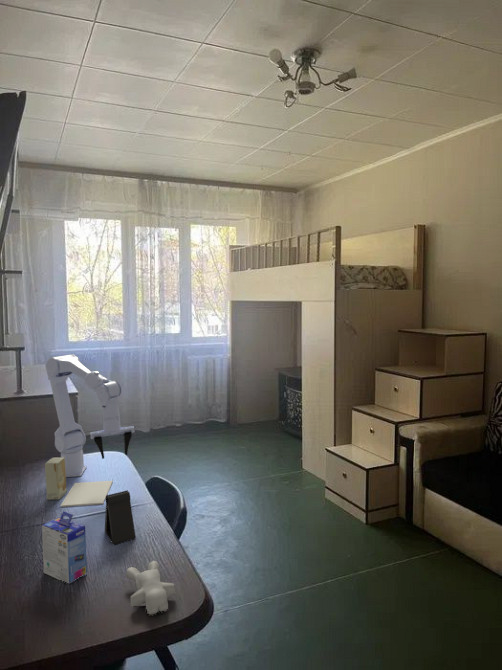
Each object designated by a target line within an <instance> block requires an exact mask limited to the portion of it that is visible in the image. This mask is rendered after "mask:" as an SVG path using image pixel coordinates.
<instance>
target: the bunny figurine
mask: <svg viewBox="0 0 502 670" xmlns="http://www.w3.org/2000/svg"><path fill="white" fill-rule="evenodd" d="M124 574H125V577H126V578H127V579H130V580H131V581H133V582H135V588H136V592H134V593H133V594H131V595H130V607H131V606H132V607H131V608H134V607H133V606H137V605H141V604H144V603H146V607H145V610H146V609H147V611H148V612H149V614H153V613H156V612H158V613H159V611H163V610H165V609H168V610H169V602H168V598H167V596H170V595H172V594H174V595H175V594H176V585H175V583H172V582H163V581H161V575H160V565H159V563H158V561H156V560H152V561H150V562H149V563H148V565H147V570H144V571H142V572H141V571H140V570H138V569H137V568H136V567H132V566H131V567H127V570H126V573H124ZM158 610H159V611H158Z"/></svg>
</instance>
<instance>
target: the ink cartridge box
mask: <svg viewBox="0 0 502 670" xmlns="http://www.w3.org/2000/svg"><path fill="white" fill-rule="evenodd" d="M73 516H74V514H72V513H68V512H66V511H63V512H62V514H61V515H60V516H59V517H57V518H54V519H52V520H49V521H48V522H46V523H44V524H42V525H41V532H42V533H41V534H42V535H41V536H42V558H43V559H42V560H43V574H46V575H48V576H50V577H52V578H54V579H57V580H58V581H60V580H62V581H61V582H63V581H65V582H67V583H70V582H72V581H73V580H75V579H77V578H78V577H80V576H82V575H84V574H85V573H87V574H88V564H87V563H88V561H87V542H86V541H87V540H86V537H87V536H86V525H85V524H81V523H78V522H75V521H72V519H73ZM64 517H68V519H66V518H64ZM65 582H64V583H65ZM67 583H66V584H67ZM72 583H73V582H72Z"/></svg>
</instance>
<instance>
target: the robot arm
mask: <svg viewBox="0 0 502 670" xmlns="http://www.w3.org/2000/svg"><path fill="white" fill-rule="evenodd" d="M45 370H46V374H47V378H48V380H49V382H50V383H49V384H50V388H51V393H52V396H53V401H54V406H55V410H56V414H57V419H58V422H59V423H58V424H59V427H58V428H57V429H56V431H55V432H54V448H56V450H57V451H58V452H59V453H60V457H65V473H66V478H70V477H71V478H72V477H73V478H74V477H75V478H76V477H82V475H83V473H84V472H85V470H86V469H87V466H86V465H85V464H84V451H83V448H84V445H85V444H86V441H87V438H86V433H85V432H84V430H83V427H82V425H80V424H79V423H77V422H75V421H76V420H75V416H74V412H73V408H72V404H71V399H70V394H69V393H70V392H69V389H68V385H67V380H68V378H69V377H71V376H72V375H73V374H74V375H75V376H77V377H80V378H81V379H83V380H84V384H85V386H87V387H89V388H90V389H91V390H92V391H94V392H95V393H96V396H97V398H98V400H99V401H98V402H99V404H100V407H101V414H102V426H103V427H102V428H103V429H101V430H96V431H91V432H89V434H90V439H91V440H93V441H94V443H95V444H96V446H97V448H98V450H99V452H100V456H101V459H105V453H104V448H103V438H105V437H110V436H118V435H122V436H123V443H124V455H125V456H127V455H128V452H129V451H128V450H129V444H130V443H131V442H130V441H131V438H132V437H133V433H135V426H134V425H131V426H122V425H121V415H120V413H121V412H120V403H119V397H120V396H121V394H122V386H121V384H120V383H119V382H118V380H110V379H108V378H107V377H105V376H104V375H102V374H101V373H100V372H99V371H98V370H96V371H95V370H94V371H93V370H92V371H91V370H89V369H88V368H87V367H86V366H85V365H84V364H83V363H81V362H80V359H79V357H78V356H76V355H75V354H73V353H70V354H66V355H65V354H64V355H59V356H50V357H49V358H48V359H47V361H46V362H45Z"/></svg>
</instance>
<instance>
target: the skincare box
mask: <svg viewBox="0 0 502 670" xmlns="http://www.w3.org/2000/svg"><path fill="white" fill-rule="evenodd" d="M44 472H45V473H44V474H45V483H46V484H45V485H46V486H45V489H46V490H45V491H46V500H60V499H62V498H63V496H65V495H66V494H67V493H68V492H67V491H68V488H67V477H66V473H65V457H61V456H60V457H51V458H50V459H48V460H47V462H45V463H44Z"/></svg>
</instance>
